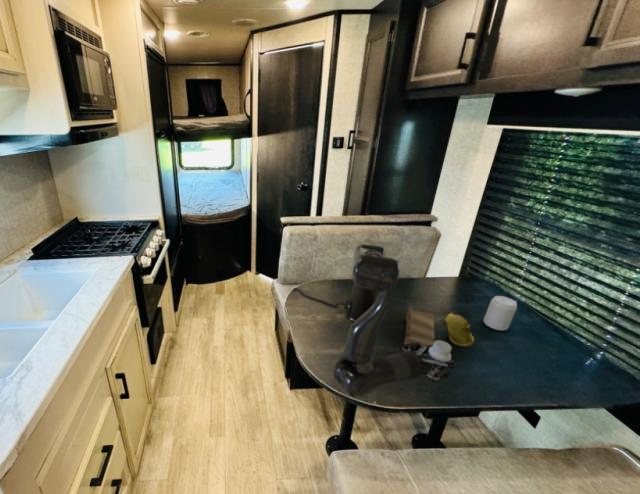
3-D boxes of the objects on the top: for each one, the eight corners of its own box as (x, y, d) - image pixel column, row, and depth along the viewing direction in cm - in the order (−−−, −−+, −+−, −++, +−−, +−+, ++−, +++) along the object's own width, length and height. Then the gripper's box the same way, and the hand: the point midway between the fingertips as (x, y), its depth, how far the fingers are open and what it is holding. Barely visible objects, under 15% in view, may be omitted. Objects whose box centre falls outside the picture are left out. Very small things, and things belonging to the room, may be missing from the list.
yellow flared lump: (451, 353, 114) (463, 319, 108) (434, 338, 121) (444, 306, 115) (477, 348, 116) (491, 315, 110) (459, 334, 123) (471, 302, 117)
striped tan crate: (430, 357, 112) (436, 340, 108) (402, 349, 116) (407, 332, 112) (429, 326, 128) (434, 310, 124) (405, 320, 132) (409, 304, 128)
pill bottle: (435, 383, 95) (445, 355, 90) (417, 369, 100) (426, 341, 95) (448, 376, 97) (459, 349, 93) (430, 363, 102) (440, 336, 98)
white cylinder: (485, 328, 126) (495, 303, 121) (481, 317, 133) (490, 293, 128) (509, 334, 123) (521, 308, 118) (504, 322, 130) (514, 298, 125)
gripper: (421, 375, 85) (469, 363, 89) (385, 341, 97) (429, 331, 101) (415, 395, 88) (461, 382, 92) (381, 359, 100) (423, 349, 105)
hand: (444, 355), depth 97 cm, fingers closed on pill bottle, 6 cm apart
